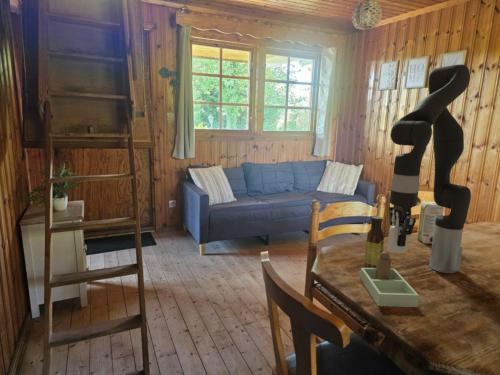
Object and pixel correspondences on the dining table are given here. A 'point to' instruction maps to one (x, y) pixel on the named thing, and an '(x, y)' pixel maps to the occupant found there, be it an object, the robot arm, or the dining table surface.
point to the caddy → (388, 284)
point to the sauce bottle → (374, 242)
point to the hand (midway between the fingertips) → (398, 243)
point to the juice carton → (428, 221)
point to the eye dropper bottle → (393, 239)
